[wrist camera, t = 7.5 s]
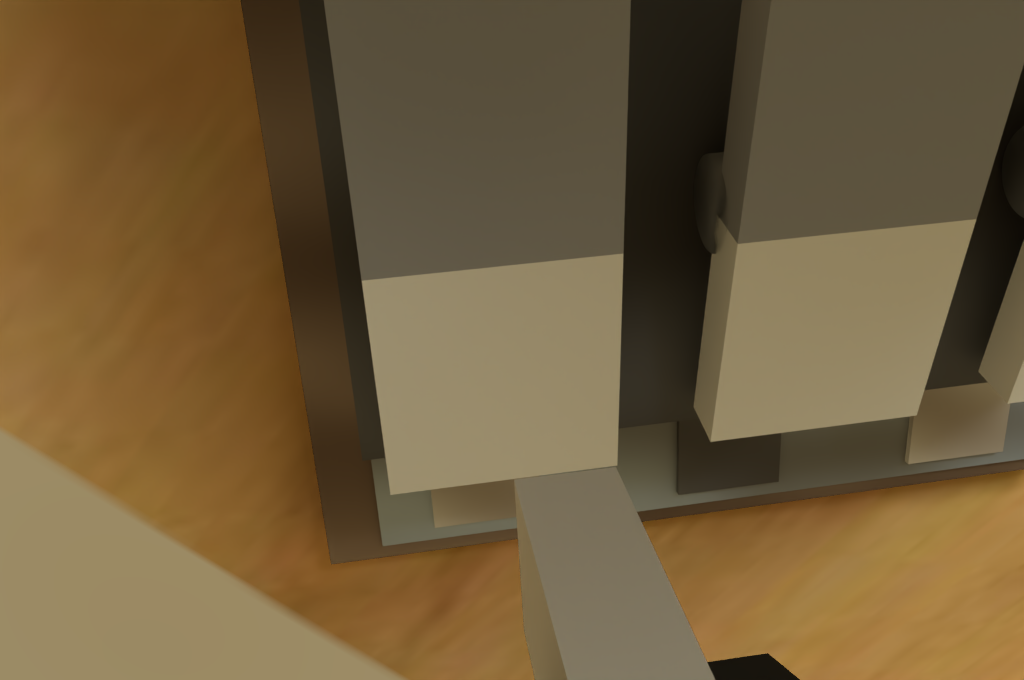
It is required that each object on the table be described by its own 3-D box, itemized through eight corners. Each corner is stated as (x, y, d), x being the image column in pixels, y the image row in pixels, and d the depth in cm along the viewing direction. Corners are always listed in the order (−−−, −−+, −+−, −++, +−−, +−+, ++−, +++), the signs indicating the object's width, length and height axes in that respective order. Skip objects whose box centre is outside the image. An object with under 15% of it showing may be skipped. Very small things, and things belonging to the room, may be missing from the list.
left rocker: (324, -43, 16) (321, -13, 14) (593, -60, 17) (632, -34, 15) (385, 421, 22) (390, 495, 19) (589, 396, 22) (617, 465, 20)
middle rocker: (720, -73, 17) (775, -35, 15) (971, -90, 17) (1060, -54, 15) (675, 369, 23) (711, 442, 21) (863, 347, 23) (916, 415, 21)
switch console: (241, -47, 22) (206, -49, 17) (1144, -105, 24) (1338, -121, 20) (332, 534, 28) (326, 655, 23) (1047, 438, 31) (1177, 529, 26)
